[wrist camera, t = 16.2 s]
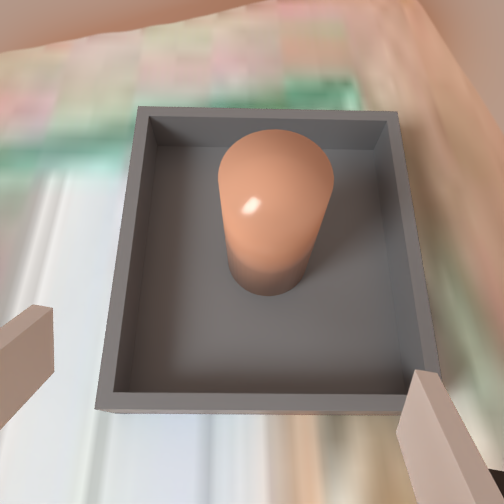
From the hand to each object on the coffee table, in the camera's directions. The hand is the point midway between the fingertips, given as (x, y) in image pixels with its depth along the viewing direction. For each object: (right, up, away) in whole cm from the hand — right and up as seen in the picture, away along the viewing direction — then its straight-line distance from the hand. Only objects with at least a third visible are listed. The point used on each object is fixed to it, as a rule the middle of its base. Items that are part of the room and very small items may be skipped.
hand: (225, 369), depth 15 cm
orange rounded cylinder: (+2, +4, +20) cm, 20 cm away
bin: (+2, +3, +21) cm, 21 cm away
